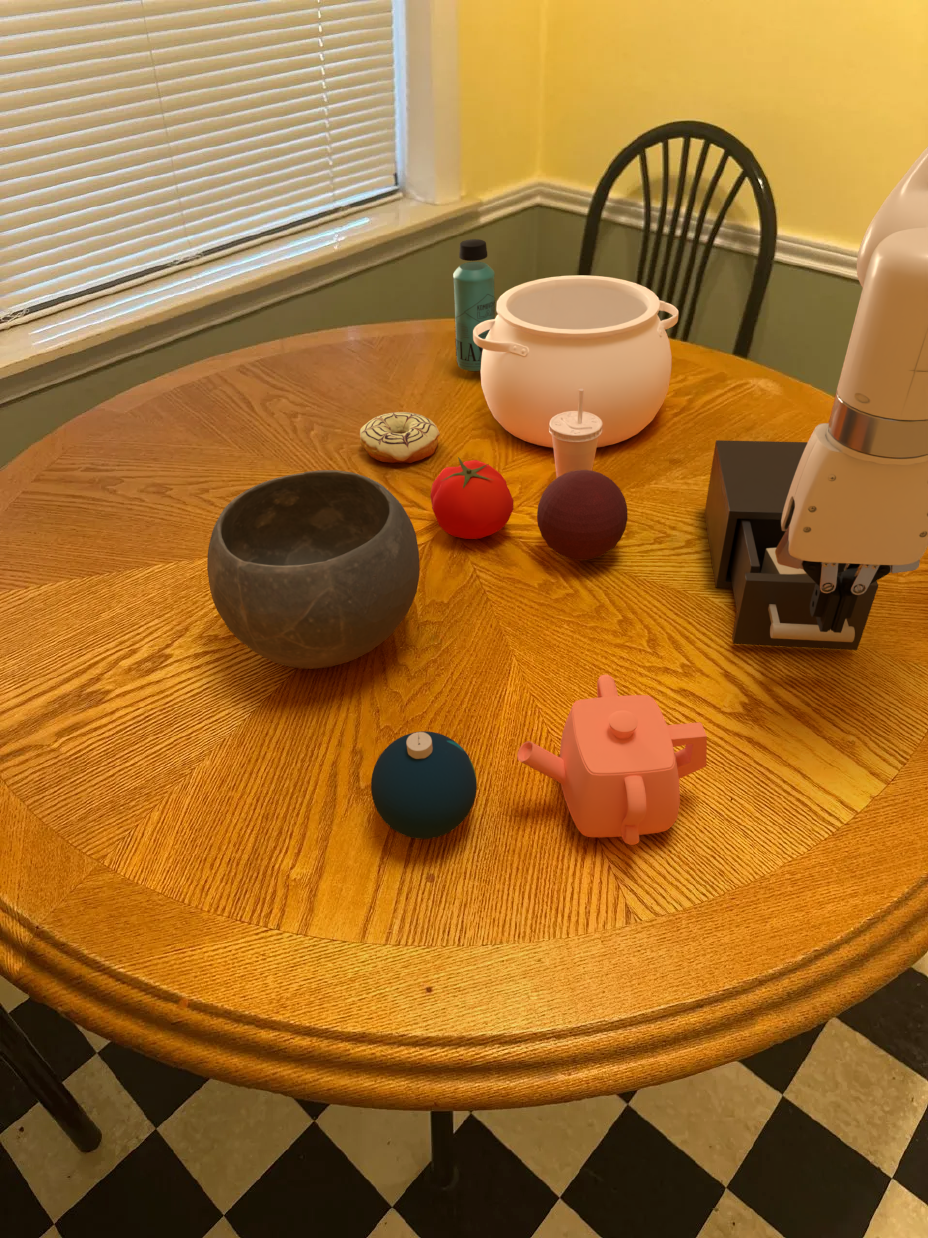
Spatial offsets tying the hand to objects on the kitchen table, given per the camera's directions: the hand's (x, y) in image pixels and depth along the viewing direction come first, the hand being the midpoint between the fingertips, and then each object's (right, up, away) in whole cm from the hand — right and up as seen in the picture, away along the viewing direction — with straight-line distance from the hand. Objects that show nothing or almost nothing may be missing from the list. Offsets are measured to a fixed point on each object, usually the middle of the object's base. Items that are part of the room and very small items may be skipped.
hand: (826, 621), depth 72 cm
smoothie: (-17, +16, +37) cm, 43 cm away
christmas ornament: (-34, -16, -1) cm, 37 cm away
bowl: (-45, -2, +17) cm, 48 cm away
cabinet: (+4, +8, +25) cm, 27 cm away
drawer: (+2, 0, +15) cm, 15 cm away
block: (+2, +3, +16) cm, 16 cm away
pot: (-15, +30, +53) cm, 62 cm away
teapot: (-19, -15, 0) cm, 24 cm away
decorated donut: (-39, +24, +47) cm, 66 cm away
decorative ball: (-17, +8, +27) cm, 33 cm away
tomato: (-29, +11, +31) cm, 44 cm away
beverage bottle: (-28, +40, +66) cm, 82 cm away
